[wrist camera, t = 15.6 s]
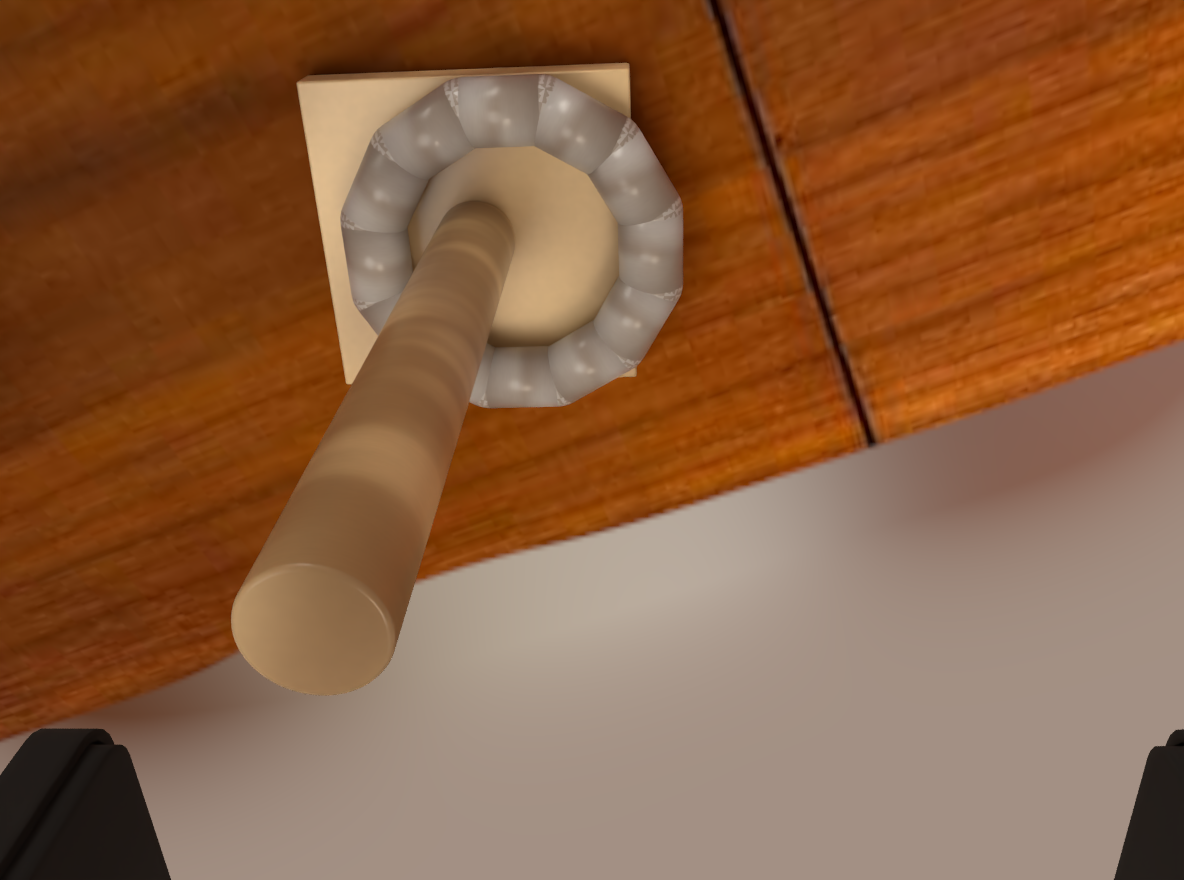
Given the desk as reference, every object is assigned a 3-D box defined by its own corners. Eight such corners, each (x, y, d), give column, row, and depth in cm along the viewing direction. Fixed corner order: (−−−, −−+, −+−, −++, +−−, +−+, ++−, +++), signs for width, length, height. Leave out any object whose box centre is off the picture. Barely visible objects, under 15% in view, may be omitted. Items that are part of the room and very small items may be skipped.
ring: (681, 63, 25) (684, 74, 23) (681, 387, 29) (685, 413, 27) (328, 77, 25) (310, 88, 24) (376, 395, 29) (363, 421, 28)
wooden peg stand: (629, 62, 26) (637, 313, 11) (636, 362, 29) (649, 863, 14) (306, 75, 26) (-130, 335, 11) (353, 370, 30) (76, 867, 15)
